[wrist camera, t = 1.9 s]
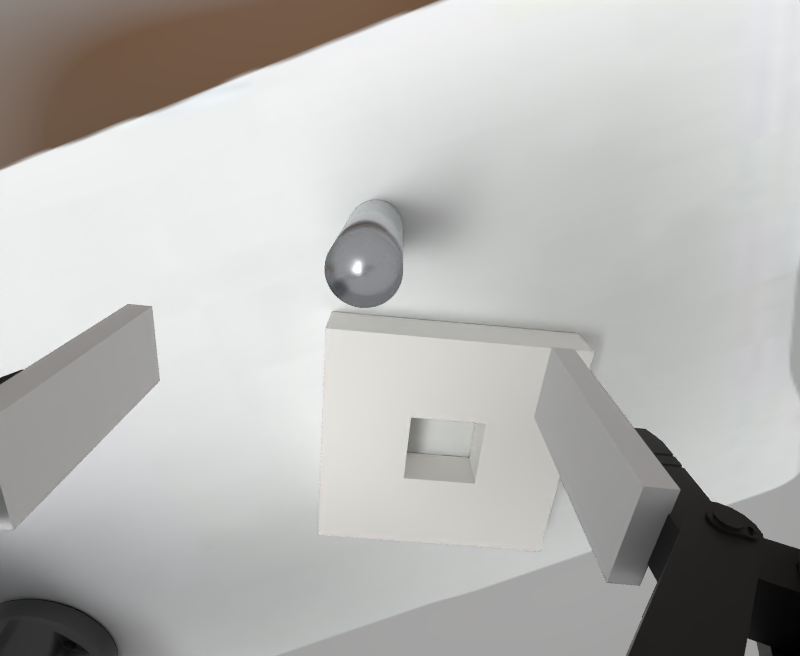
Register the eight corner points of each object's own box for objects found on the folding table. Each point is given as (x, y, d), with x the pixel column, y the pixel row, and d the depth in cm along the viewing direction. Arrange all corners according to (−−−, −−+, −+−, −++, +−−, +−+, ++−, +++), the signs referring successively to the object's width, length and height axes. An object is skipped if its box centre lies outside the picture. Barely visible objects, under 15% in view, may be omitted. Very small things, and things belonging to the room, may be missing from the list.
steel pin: (347, 251, 36) (323, 304, 25) (350, 197, 35) (326, 228, 23) (400, 256, 36) (399, 311, 25) (405, 202, 35) (406, 235, 24)
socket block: (323, 506, 46) (318, 534, 42) (331, 311, 38) (325, 328, 35) (529, 521, 46) (539, 551, 43) (578, 333, 39) (594, 351, 35)
